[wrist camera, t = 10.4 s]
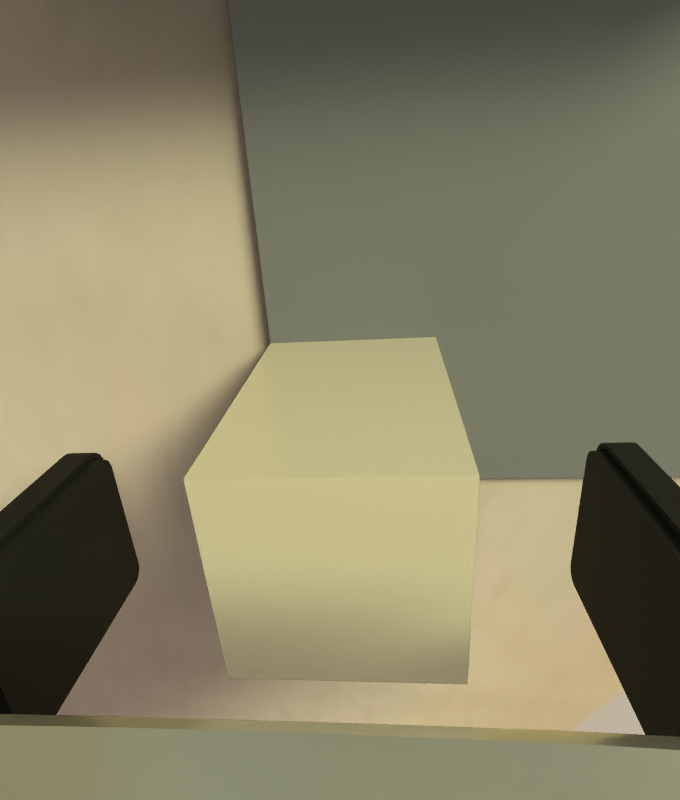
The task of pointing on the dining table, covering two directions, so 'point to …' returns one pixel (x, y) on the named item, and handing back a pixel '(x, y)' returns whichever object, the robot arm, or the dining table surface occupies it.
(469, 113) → the dark mat
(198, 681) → the dining table surface
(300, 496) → the stone
